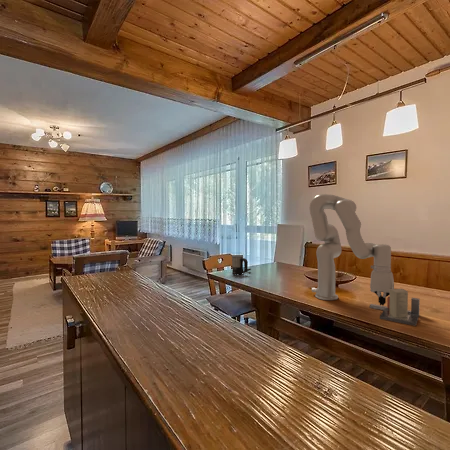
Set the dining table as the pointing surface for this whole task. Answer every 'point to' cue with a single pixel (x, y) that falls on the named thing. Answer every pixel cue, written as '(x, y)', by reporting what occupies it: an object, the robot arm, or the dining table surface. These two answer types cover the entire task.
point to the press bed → (399, 318)
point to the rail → (414, 310)
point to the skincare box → (398, 303)
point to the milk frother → (239, 264)
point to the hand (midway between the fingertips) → (382, 304)
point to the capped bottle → (388, 301)
